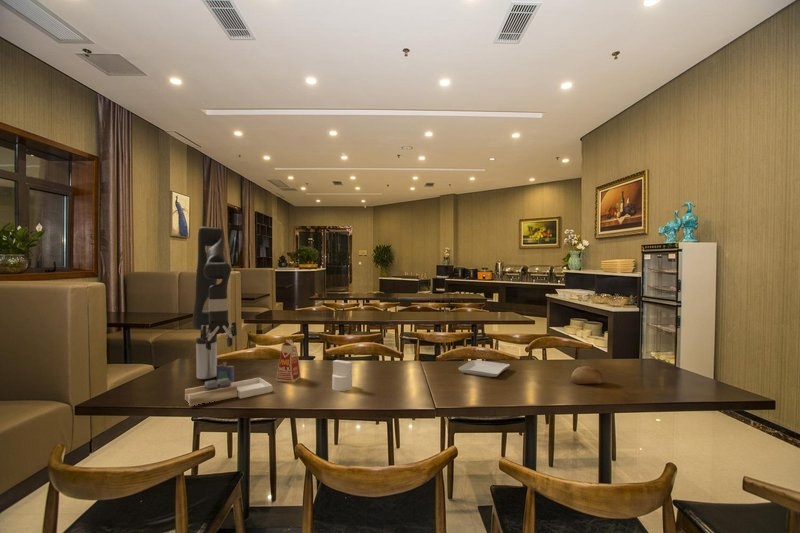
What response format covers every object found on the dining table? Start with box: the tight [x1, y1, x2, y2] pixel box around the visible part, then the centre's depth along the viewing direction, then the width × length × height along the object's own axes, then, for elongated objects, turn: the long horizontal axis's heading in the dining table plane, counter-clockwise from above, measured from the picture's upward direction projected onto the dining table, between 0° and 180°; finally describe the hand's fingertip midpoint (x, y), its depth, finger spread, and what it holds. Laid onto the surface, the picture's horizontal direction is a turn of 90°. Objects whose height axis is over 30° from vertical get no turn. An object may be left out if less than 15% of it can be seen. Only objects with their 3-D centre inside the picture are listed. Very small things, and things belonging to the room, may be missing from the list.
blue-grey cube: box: [217, 378, 230, 389], centre depth 173 cm, size 4×4×4 cm
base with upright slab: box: [331, 359, 353, 392], centre depth 184 cm, size 9×9×12 cm
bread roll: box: [570, 365, 605, 385], centre depth 189 cm, size 10×15×8 cm, turn 90°
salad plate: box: [458, 359, 511, 378], centre depth 210 cm, size 21×21×3 cm
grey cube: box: [204, 379, 218, 391], centre depth 170 cm, size 4×4×4 cm
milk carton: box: [275, 338, 301, 383], centre depth 198 cm, size 9×9×20 cm
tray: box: [231, 377, 274, 399], centre depth 180 cm, size 16×14×3 cm
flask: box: [215, 361, 235, 383], centre depth 188 cm, size 9×3×11 cm, turn 74°
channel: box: [184, 382, 238, 407], centre depth 170 cm, size 10×18×4 cm, turn 129°
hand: (219, 348), depth 170 cm, fingers open, 8 cm apart
